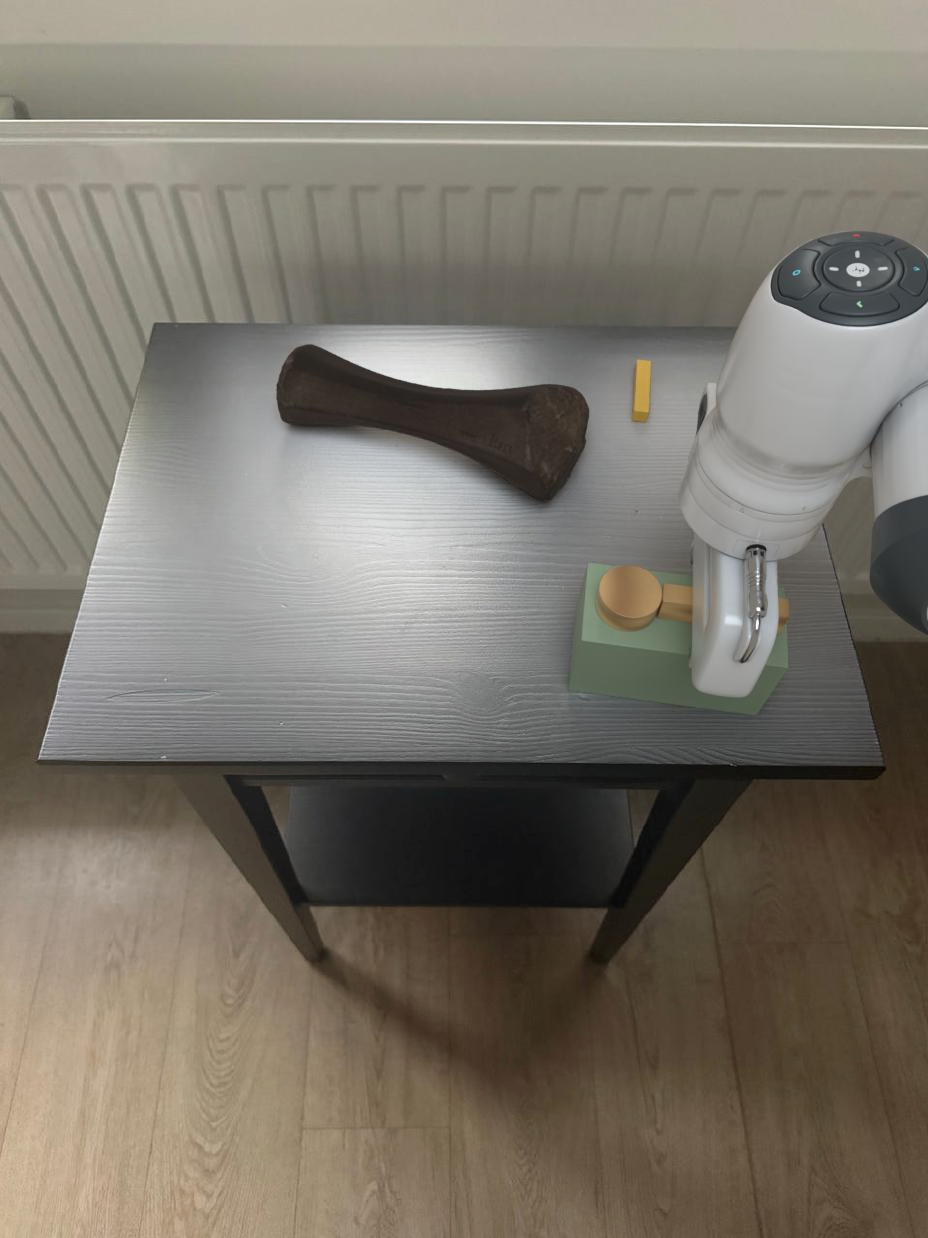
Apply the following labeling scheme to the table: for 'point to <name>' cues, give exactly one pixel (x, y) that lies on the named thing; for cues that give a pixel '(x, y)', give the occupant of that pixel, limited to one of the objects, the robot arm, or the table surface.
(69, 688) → the table surface
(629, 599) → the spoon
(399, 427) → the dark brown bone
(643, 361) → the fry
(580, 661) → the sage green box
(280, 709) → the table surface
